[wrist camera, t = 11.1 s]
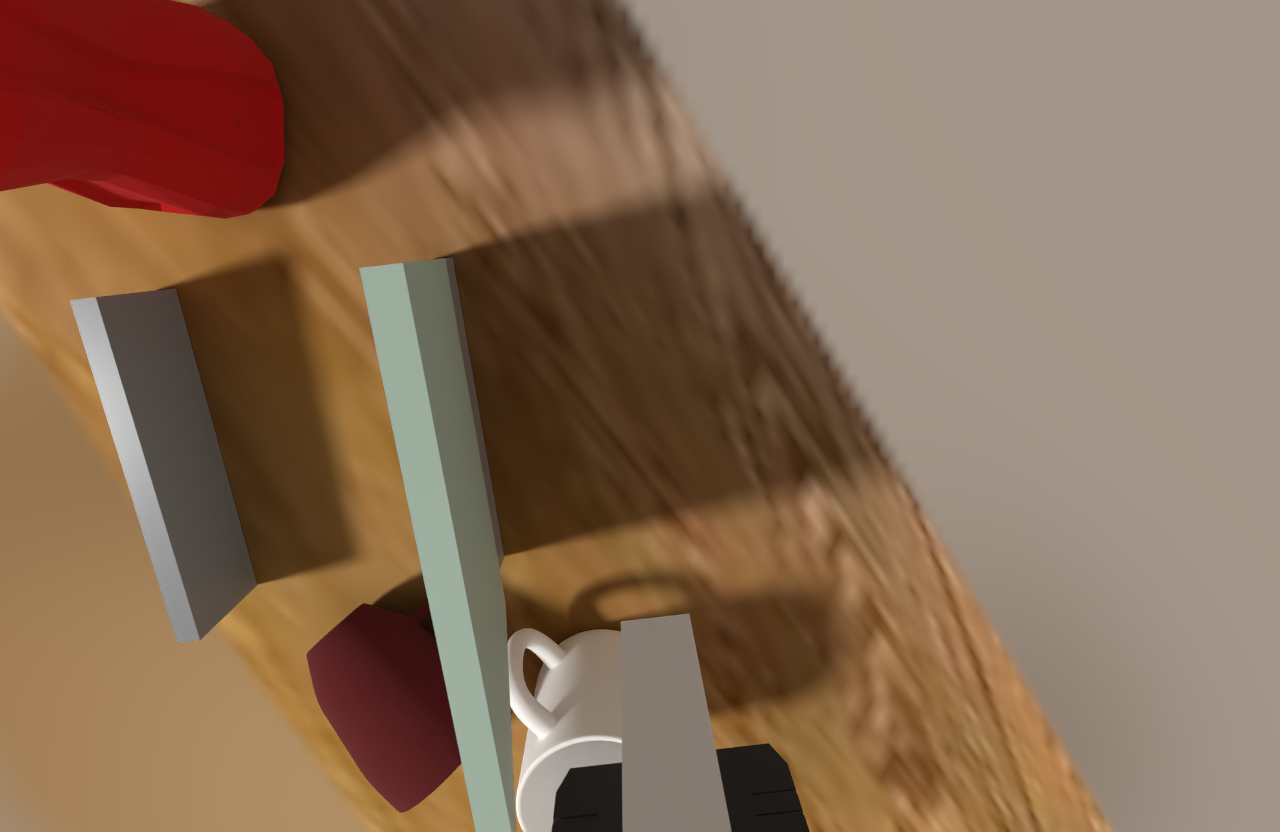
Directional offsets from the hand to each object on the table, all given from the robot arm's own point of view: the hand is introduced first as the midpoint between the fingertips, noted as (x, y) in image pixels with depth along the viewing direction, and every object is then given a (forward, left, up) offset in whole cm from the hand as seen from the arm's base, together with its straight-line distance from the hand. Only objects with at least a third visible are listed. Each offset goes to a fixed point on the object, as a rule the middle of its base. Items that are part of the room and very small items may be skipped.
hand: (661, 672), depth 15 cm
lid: (0, -7, -12) cm, 14 cm away
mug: (+10, -18, -24) cm, 31 cm away
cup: (+17, -5, -26) cm, 31 cm away
